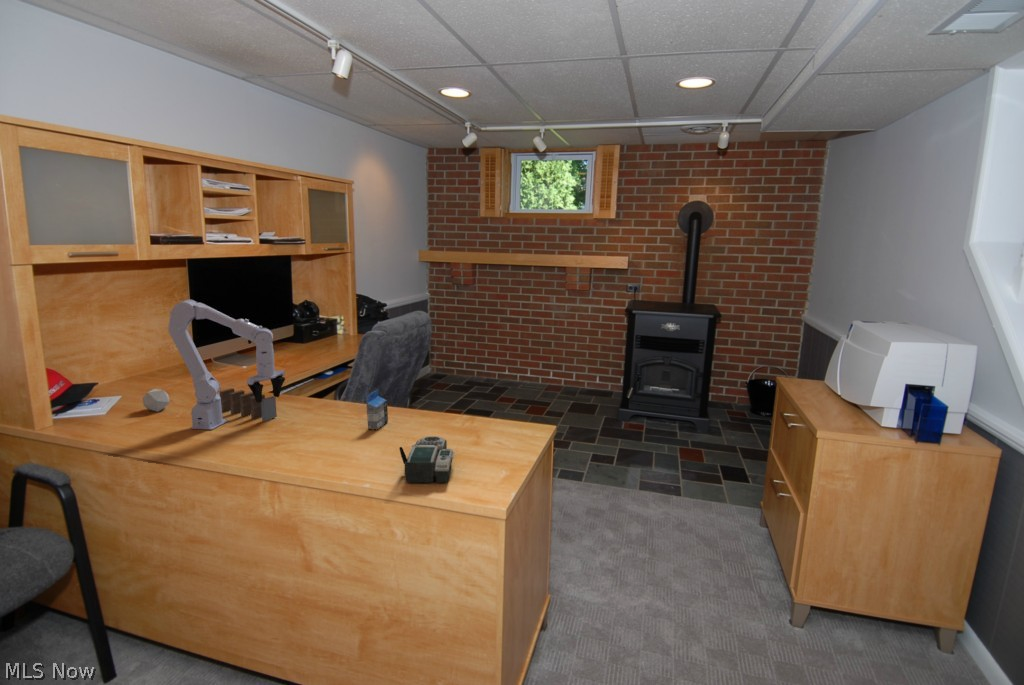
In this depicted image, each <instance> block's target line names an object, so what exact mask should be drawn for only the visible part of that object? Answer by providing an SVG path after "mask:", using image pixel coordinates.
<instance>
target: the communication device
mask: <svg viewBox="0 0 1024 685" xmlns="http://www.w3.org/2000/svg"><path fill="white" fill-rule="evenodd" d="M447 441H448V440H447V439H445V438H444V437H441V436H435V435H434V436H424V437H421V438H419V439H418V440H417V441H415V444H412V445H411V449H410V450H409V453H408V454H407V456H406V453H405V451H404V449H403V447H402V446H400V447H399V453H400V457H401V460H402V462H403V465H404V476H405V479H404V480H405V481H406V483H433V482H434V481H435V482H436V483H447V482H448V481H450V477H451V472H452V463H453V460H454V456H455V451H453V449H452V448H447V446H448V444H447V443H448V442H447Z"/></svg>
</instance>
